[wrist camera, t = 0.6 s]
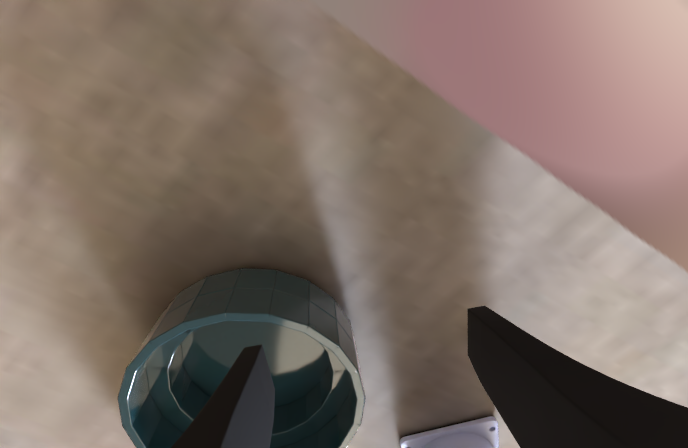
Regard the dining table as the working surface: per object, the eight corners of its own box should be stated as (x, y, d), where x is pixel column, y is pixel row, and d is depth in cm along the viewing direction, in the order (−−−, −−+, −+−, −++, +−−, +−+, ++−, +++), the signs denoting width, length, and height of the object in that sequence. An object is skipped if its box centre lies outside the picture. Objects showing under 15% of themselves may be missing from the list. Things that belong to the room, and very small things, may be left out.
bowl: (368, 395, 26) (381, 461, 21) (200, 434, 26) (176, 510, 21) (330, 242, 21) (337, 286, 17) (123, 290, 21) (70, 348, 16)
